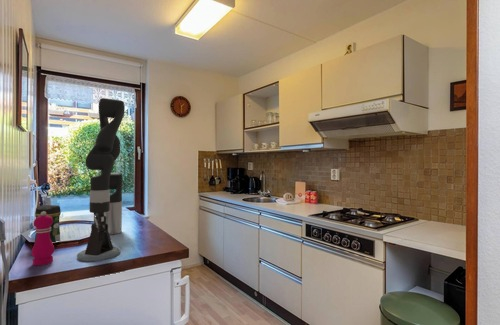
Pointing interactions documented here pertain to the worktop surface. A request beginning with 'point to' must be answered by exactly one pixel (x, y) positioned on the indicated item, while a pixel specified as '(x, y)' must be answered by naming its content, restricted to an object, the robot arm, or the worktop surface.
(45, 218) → the pepper mill
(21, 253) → the worktop surface
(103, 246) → the door stopper
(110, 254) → the dish
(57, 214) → the coffee jar
